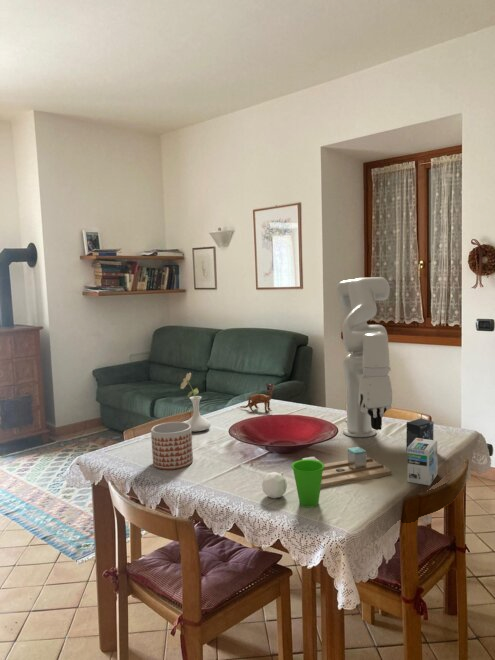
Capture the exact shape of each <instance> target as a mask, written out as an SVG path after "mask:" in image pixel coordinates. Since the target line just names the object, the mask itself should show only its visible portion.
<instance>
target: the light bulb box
mask: <svg viewBox="0 0 495 660" xmlns="http://www.w3.org/2000/svg"><path fill="white" fill-rule="evenodd" d="M406 456H407V457H406V459H407V482H408V483H413V484H417V485H418V484H419V485H425V486H431V484H432V483H433V481H435V478H437V475H438V440H435V439H433V440H428V439H421V438H416V439H415V440H414V441H413V442H412V443H411V444H410V445H409V446H408V447H407V451H406Z"/></svg>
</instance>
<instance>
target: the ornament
mask: <svg viewBox="0 0 495 660" xmlns="http://www.w3.org/2000/svg"><path fill="white" fill-rule="evenodd" d="M261 484H262V485H261V487H262V492H263V493H264V495H266V496H267V497H269V498H272V499H278V498H281V497H282V496H283V495H284V494H286V491H287V488H288V483H287V480H286V478H285V477H284V472H282V471H280V472H276V471H273V472H269V473H267V474H266V475H265V476H264V477H263V479H262V482H261Z"/></svg>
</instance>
